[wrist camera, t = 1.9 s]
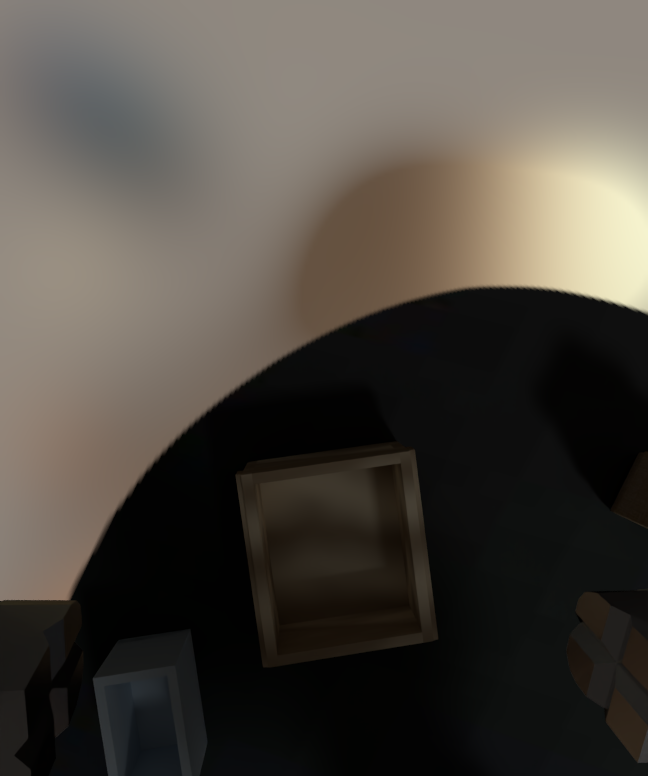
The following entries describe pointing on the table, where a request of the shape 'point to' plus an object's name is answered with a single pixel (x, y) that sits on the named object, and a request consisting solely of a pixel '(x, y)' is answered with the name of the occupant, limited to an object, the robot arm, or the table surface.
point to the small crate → (151, 707)
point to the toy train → (634, 493)
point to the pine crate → (336, 553)
